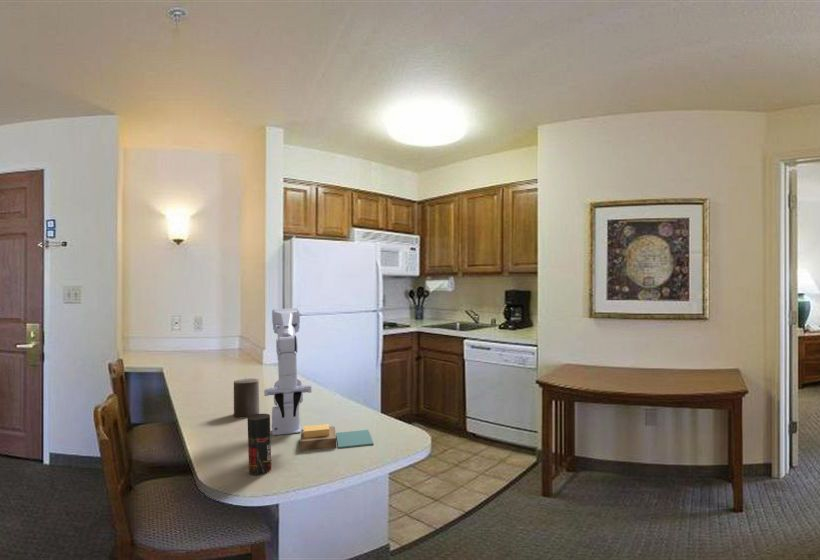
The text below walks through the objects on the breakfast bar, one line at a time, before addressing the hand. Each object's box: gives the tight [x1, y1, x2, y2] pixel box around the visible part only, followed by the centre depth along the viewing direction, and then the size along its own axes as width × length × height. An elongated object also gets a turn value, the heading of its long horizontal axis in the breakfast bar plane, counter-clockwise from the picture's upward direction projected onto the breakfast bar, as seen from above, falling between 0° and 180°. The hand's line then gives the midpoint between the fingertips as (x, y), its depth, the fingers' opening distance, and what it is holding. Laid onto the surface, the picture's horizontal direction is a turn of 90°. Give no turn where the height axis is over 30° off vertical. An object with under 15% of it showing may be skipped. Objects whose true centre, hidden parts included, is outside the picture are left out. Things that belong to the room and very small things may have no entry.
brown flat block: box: [299, 426, 338, 452], centre depth 147 cm, size 11×12×3 cm
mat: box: [335, 429, 374, 449], centre depth 150 cm, size 11×14×1 cm
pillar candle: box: [233, 377, 260, 418], centre depth 184 cm, size 10×10×15 cm
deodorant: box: [246, 413, 272, 476], centre depth 127 cm, size 6×6×15 cm
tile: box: [303, 423, 330, 438], centre depth 147 cm, size 8×6×2 cm
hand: (289, 416), depth 146 cm, fingers open, 3 cm apart
